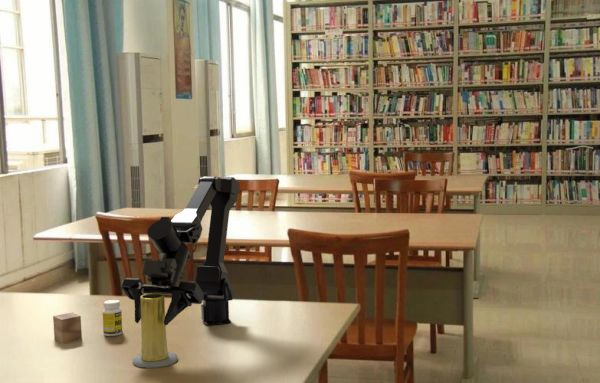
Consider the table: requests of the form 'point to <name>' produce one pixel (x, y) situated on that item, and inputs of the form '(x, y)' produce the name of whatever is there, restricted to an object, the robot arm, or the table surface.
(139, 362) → the mat
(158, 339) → the vase
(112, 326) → the supplement bottle
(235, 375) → the table surface
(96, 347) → the table surface
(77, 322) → the walnut block
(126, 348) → the table surface
